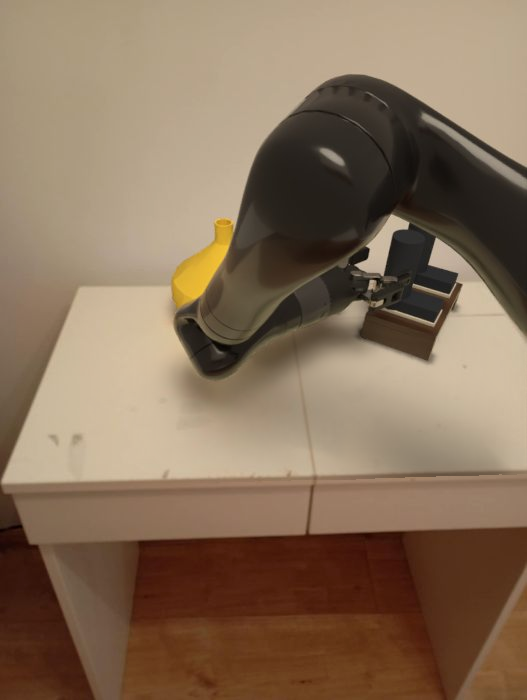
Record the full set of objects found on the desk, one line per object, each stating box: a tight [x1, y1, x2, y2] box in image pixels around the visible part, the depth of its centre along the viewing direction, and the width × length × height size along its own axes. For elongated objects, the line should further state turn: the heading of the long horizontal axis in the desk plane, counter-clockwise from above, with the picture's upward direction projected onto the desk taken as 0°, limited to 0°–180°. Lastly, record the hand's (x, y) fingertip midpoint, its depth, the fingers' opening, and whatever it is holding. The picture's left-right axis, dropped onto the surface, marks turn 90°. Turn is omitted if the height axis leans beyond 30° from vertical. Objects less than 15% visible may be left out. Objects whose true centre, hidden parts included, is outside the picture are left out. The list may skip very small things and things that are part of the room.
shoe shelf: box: [360, 281, 464, 361], centre depth 85 cm, size 19×12×5 cm, turn 149°
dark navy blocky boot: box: [380, 228, 444, 327], centre depth 77 cm, size 11×5×13 cm, turn 59°
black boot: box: [407, 222, 460, 298], centre depth 83 cm, size 11×5×13 cm, turn 59°
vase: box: [170, 217, 234, 310], centre depth 79 cm, size 18×18×19 cm
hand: (387, 263), depth 74 cm, fingers open, 8 cm apart
